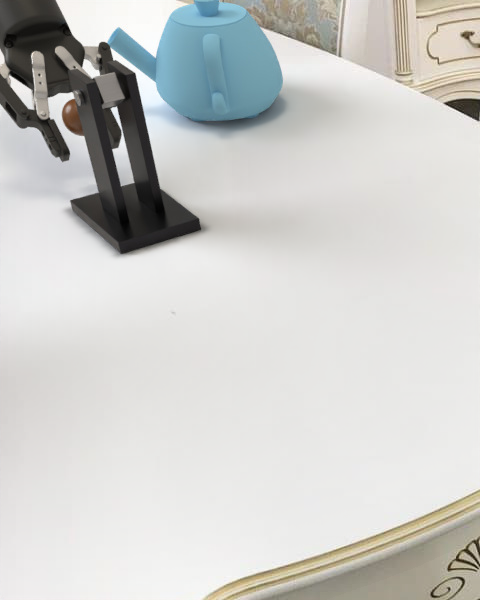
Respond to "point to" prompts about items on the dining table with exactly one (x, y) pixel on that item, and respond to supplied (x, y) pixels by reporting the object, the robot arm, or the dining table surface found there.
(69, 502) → the dining table surface
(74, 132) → the lever
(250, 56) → the teapot
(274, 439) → the dining table surface
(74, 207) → the bracket
